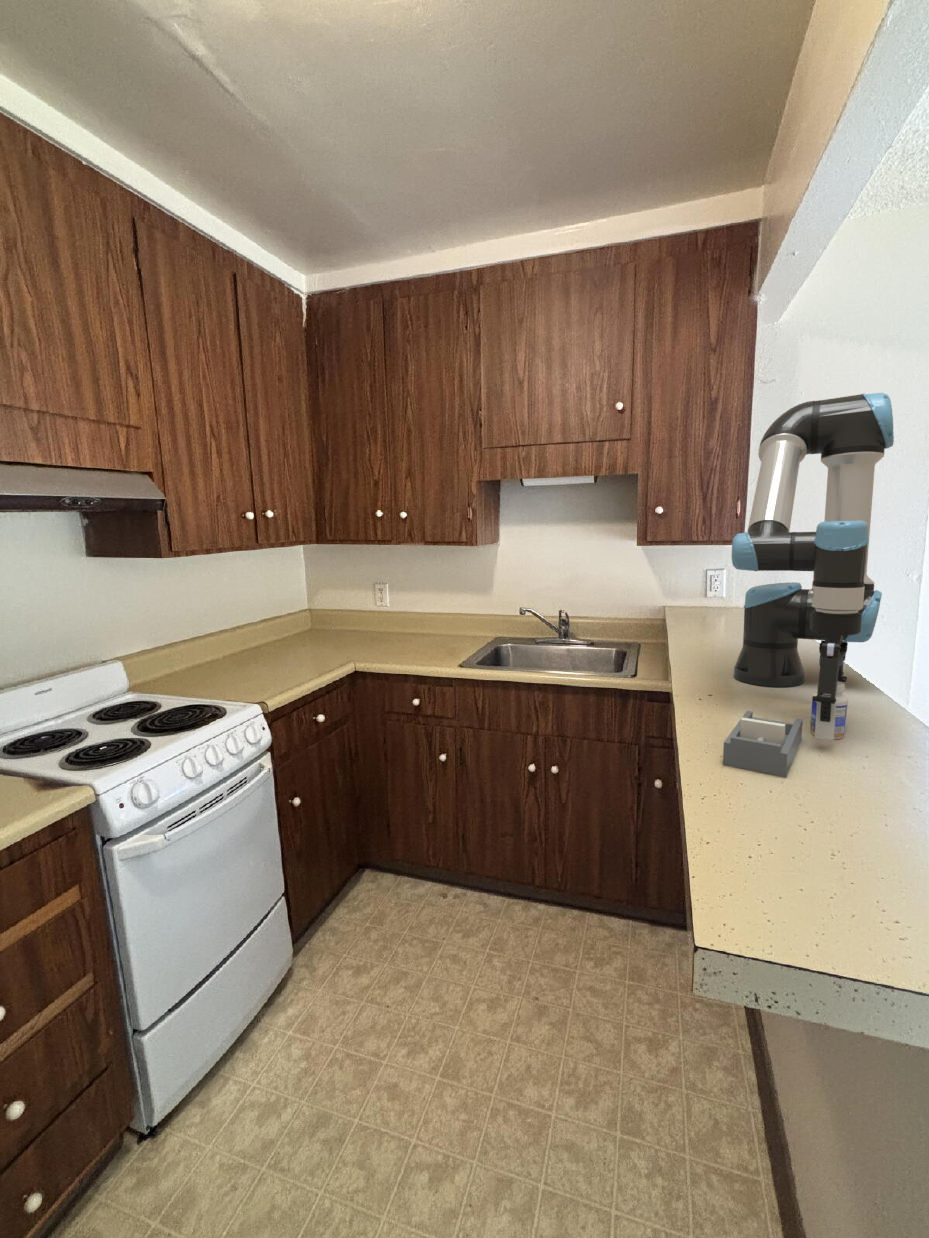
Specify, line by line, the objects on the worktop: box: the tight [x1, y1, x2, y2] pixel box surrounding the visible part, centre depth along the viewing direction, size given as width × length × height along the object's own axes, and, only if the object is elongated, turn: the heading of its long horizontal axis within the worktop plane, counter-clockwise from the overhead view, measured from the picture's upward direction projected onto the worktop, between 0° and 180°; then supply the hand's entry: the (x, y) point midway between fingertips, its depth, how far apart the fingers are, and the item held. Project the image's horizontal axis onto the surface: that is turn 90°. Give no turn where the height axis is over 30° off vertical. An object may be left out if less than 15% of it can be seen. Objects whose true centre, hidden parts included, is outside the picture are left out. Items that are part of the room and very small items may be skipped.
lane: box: [722, 710, 804, 778], centre depth 95 cm, size 18×9×5 cm, turn 143°
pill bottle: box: [809, 681, 849, 740], centre depth 101 cm, size 5×5×10 cm
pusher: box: [740, 716, 785, 749], centre depth 92 cm, size 5×6×5 cm
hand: (827, 726), depth 102 cm, fingers open, 13 cm apart
